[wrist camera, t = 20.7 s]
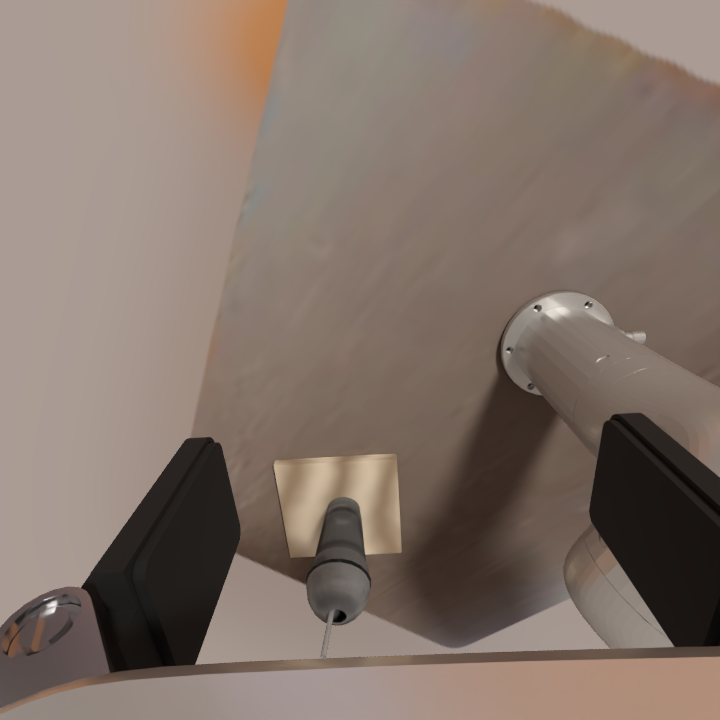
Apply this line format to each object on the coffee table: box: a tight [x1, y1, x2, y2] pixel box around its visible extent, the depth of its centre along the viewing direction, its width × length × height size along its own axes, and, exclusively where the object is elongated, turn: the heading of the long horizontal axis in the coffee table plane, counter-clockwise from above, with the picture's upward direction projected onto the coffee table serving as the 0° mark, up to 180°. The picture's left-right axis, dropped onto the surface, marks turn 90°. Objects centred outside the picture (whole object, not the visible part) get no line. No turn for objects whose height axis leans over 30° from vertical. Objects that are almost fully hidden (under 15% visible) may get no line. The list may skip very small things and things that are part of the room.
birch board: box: [274, 454, 402, 558], centre depth 59 cm, size 16×16×1 cm
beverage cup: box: [306, 497, 371, 659], centre depth 49 cm, size 7×7×20 cm
